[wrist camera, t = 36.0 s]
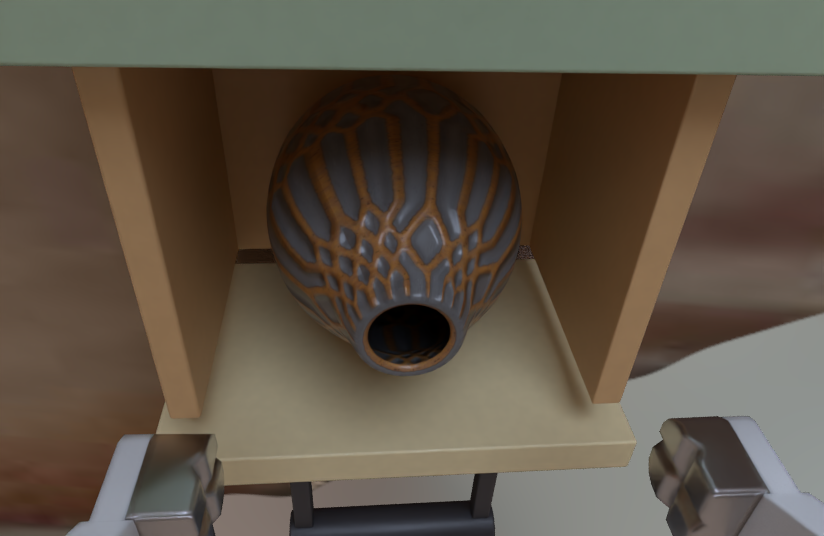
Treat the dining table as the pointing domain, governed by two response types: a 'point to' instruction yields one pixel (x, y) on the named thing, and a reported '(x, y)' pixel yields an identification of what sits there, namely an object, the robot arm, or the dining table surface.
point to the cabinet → (422, 35)
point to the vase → (395, 219)
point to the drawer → (335, 358)
